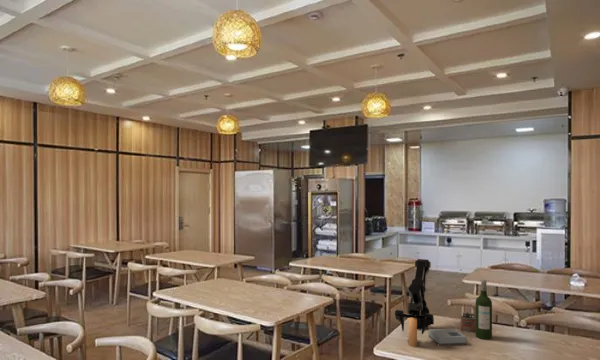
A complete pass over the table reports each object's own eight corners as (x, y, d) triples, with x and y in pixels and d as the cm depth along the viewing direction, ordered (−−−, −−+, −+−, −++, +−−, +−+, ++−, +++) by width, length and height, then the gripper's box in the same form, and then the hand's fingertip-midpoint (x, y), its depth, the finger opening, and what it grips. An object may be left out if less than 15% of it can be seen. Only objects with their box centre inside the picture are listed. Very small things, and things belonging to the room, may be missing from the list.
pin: (407, 343, 205) (407, 317, 205) (414, 343, 206) (415, 317, 206) (410, 346, 201) (410, 320, 201) (418, 346, 202) (418, 319, 202)
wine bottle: (488, 335, 219) (488, 278, 220) (494, 340, 211) (494, 281, 212) (473, 334, 220) (473, 278, 221) (478, 339, 212) (478, 281, 213)
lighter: (460, 330, 226) (460, 312, 226) (460, 328, 229) (460, 310, 229) (475, 333, 222) (475, 314, 222) (476, 331, 225) (476, 312, 225)
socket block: (428, 337, 215) (428, 329, 215) (454, 336, 217) (454, 328, 217) (439, 345, 203) (439, 337, 203) (466, 344, 205) (466, 336, 205)
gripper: (395, 293, 211) (391, 321, 201) (433, 298, 204) (430, 327, 193) (398, 305, 218) (394, 332, 208) (434, 309, 211) (432, 338, 200)
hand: (412, 332), depth 202 cm, fingers open, 9 cm apart
